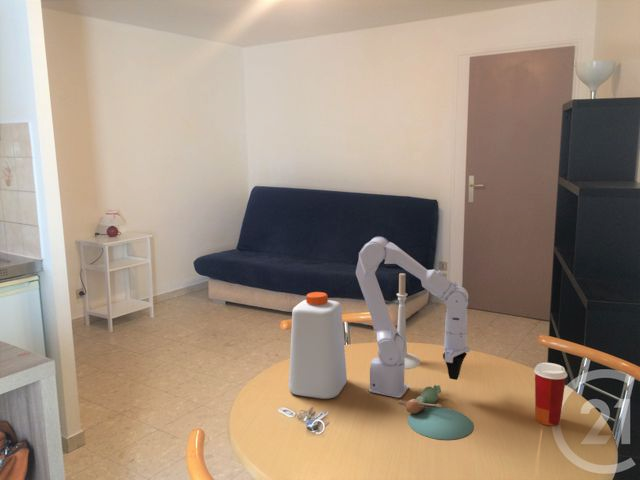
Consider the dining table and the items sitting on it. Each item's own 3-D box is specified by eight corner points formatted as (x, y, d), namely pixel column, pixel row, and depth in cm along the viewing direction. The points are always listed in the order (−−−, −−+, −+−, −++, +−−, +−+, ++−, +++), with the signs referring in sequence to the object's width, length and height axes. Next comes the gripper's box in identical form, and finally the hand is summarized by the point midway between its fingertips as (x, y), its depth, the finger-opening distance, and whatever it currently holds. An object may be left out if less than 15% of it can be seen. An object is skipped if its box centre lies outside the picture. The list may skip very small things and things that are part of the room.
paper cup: (562, 415, 135) (565, 363, 133) (565, 430, 128) (569, 375, 126) (529, 410, 138) (532, 360, 135) (531, 425, 130) (534, 371, 128)
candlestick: (425, 358, 174) (427, 269, 169) (415, 373, 162) (417, 278, 157) (387, 353, 179) (388, 266, 174) (376, 366, 167) (376, 275, 162)
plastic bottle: (335, 402, 144) (334, 303, 139) (284, 395, 148) (281, 299, 144) (350, 380, 158) (349, 289, 153) (303, 374, 162) (301, 286, 158)
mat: (399, 430, 129) (399, 429, 129) (418, 403, 143) (418, 402, 143) (465, 446, 121) (465, 445, 121) (478, 415, 136) (478, 414, 135)
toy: (458, 383, 141) (429, 402, 130) (461, 399, 141) (432, 419, 130) (416, 380, 150) (386, 398, 139) (418, 395, 150) (389, 414, 139)
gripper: (464, 341, 134) (462, 391, 136) (476, 325, 147) (474, 371, 149) (437, 337, 137) (435, 386, 139) (450, 321, 150) (449, 366, 152)
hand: (453, 378), depth 144 cm, fingers closed
